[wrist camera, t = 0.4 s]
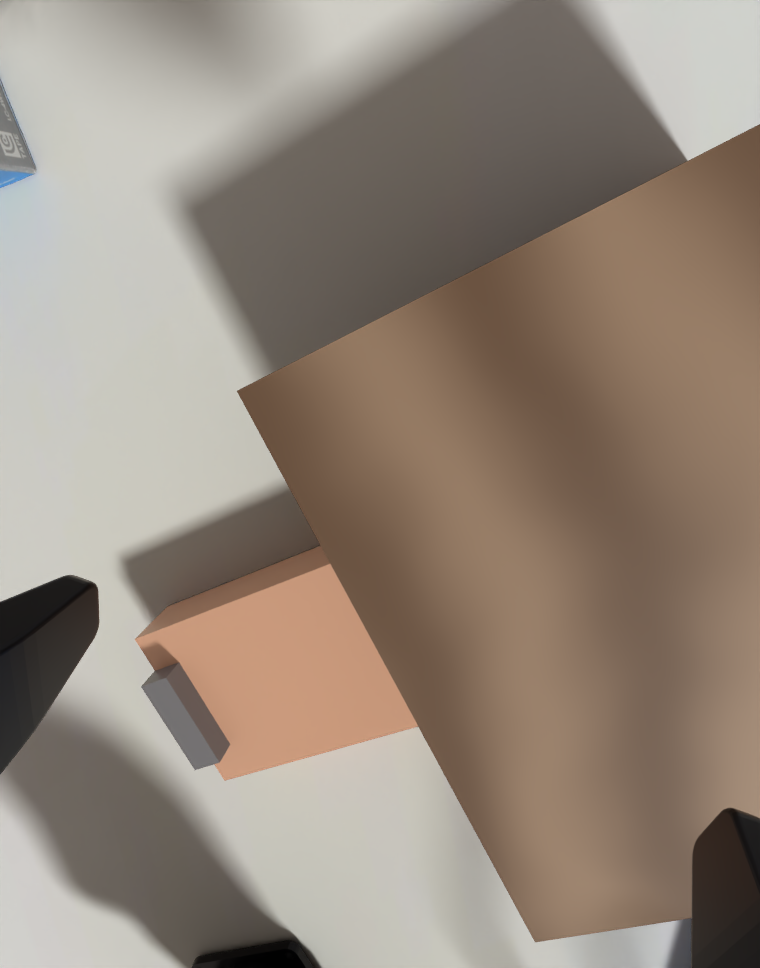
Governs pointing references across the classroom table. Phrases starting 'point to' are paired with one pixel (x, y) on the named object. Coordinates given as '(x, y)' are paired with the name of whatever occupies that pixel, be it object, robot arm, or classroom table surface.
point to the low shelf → (563, 533)
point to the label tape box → (12, 146)
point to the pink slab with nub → (269, 670)
